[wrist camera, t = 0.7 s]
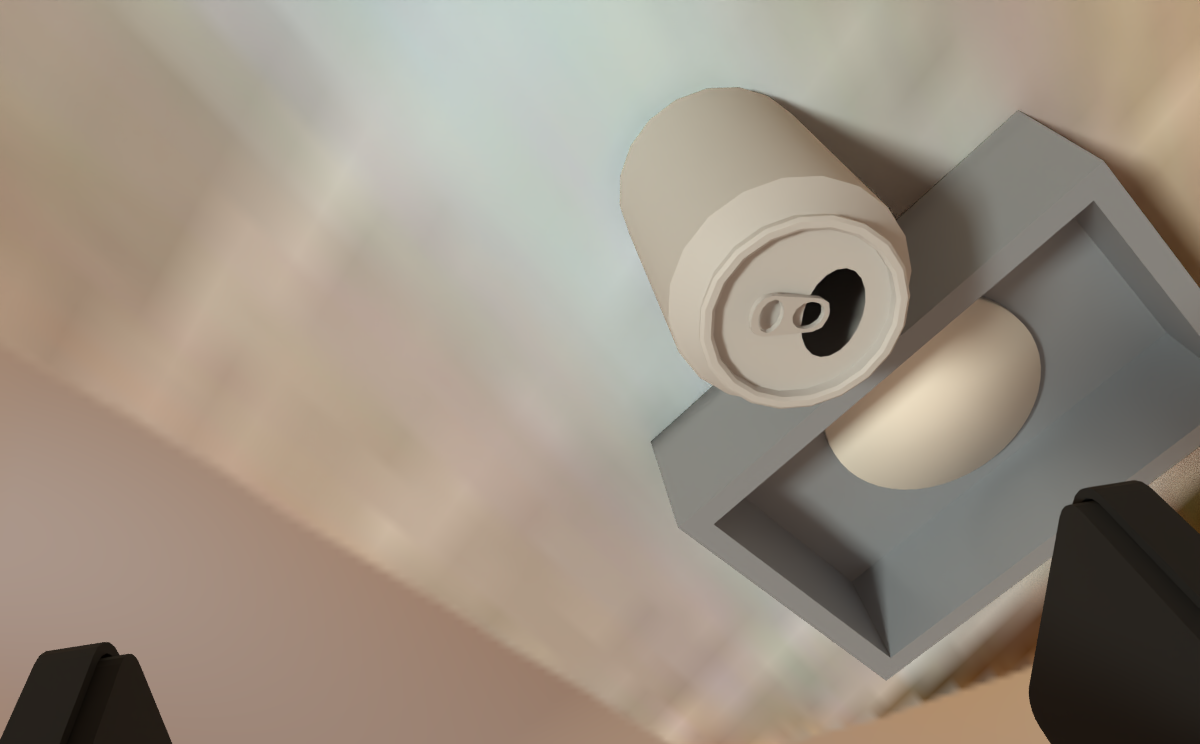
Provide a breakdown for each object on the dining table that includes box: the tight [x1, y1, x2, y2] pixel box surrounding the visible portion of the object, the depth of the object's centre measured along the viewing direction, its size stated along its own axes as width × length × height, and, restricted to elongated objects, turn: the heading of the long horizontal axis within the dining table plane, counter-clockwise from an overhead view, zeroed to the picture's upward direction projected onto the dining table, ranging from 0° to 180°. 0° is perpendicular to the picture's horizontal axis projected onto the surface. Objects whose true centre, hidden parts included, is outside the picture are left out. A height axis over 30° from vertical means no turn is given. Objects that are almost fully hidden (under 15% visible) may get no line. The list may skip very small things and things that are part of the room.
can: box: [620, 87, 911, 409], centre depth 35 cm, size 8×8×12 cm
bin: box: [651, 110, 1200, 680], centre depth 43 cm, size 20×14×6 cm
